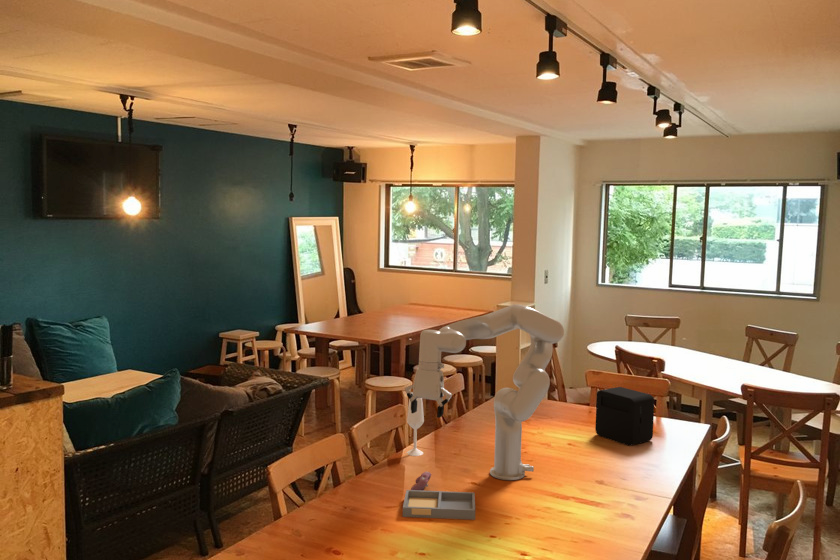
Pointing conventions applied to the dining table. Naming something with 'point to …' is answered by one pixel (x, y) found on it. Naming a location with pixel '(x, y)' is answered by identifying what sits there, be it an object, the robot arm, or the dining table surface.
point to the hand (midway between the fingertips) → (426, 414)
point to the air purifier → (624, 415)
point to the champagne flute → (415, 424)
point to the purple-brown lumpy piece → (422, 481)
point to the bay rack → (439, 504)
